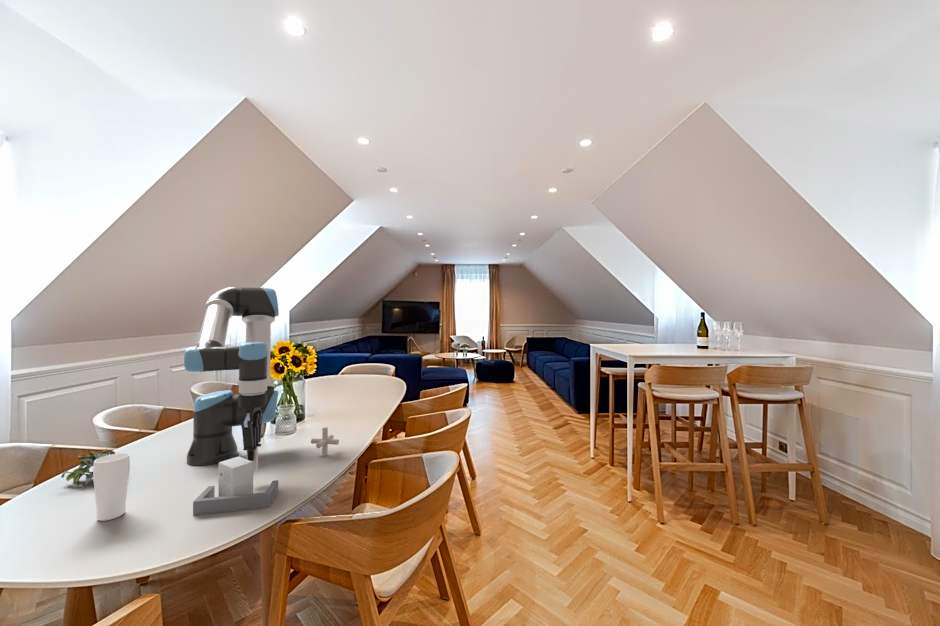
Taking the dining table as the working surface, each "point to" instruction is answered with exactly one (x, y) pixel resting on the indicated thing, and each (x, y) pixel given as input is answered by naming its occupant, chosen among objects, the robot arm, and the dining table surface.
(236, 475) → the small box
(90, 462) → the green leafy plant
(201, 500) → the square bracket
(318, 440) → the pipe connector
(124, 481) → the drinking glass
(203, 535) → the dining table surface
